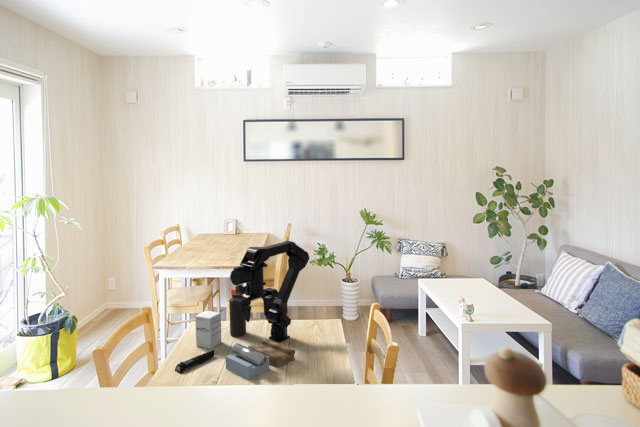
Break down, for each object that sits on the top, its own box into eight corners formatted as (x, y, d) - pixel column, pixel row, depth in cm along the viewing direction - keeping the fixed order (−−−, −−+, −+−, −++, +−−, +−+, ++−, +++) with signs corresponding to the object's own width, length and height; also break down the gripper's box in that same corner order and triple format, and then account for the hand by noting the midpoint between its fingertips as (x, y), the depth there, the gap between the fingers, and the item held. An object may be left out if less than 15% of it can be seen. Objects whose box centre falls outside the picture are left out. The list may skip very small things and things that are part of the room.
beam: (248, 355, 153) (248, 346, 153) (265, 347, 160) (265, 338, 160) (277, 368, 143) (277, 358, 143) (295, 359, 150) (295, 350, 150)
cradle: (226, 368, 143) (225, 356, 143) (247, 358, 150) (246, 347, 150) (248, 379, 135) (247, 366, 135) (269, 368, 143) (269, 356, 142)
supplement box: (195, 346, 161) (194, 315, 160) (207, 339, 168) (206, 309, 167) (210, 349, 159) (209, 318, 157) (222, 342, 165) (221, 312, 164)
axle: (230, 354, 146) (233, 343, 146) (239, 354, 149) (241, 343, 149) (256, 366, 137) (259, 354, 137) (264, 366, 140) (267, 354, 140)
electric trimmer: (217, 358, 152) (217, 350, 151) (180, 374, 139) (180, 365, 139) (210, 356, 154) (210, 348, 154) (174, 371, 142) (173, 362, 141)
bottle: (227, 336, 171) (226, 290, 169) (234, 330, 177) (233, 285, 175) (242, 337, 169) (241, 291, 167) (248, 331, 176) (247, 286, 174)
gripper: (260, 271, 169) (261, 308, 171) (223, 281, 155) (224, 320, 156) (278, 276, 162) (279, 313, 163) (242, 286, 148) (243, 327, 149)
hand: (256, 318), depth 158 cm, fingers open, 9 cm apart
